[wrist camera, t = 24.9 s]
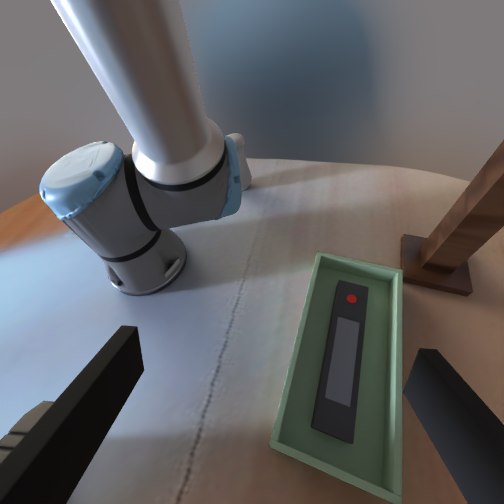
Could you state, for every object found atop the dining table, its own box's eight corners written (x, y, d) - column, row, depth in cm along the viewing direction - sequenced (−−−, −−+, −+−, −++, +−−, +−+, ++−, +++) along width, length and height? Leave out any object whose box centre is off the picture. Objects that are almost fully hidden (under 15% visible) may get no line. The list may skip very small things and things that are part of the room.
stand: (469, 307, 39) (780, 104, 15) (400, 290, 41) (567, 96, 17) (458, 241, 46) (652, 36, 22) (400, 231, 49) (518, 38, 25)
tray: (386, 498, 27) (402, 508, 24) (270, 445, 31) (268, 446, 27) (392, 282, 42) (402, 269, 39) (314, 264, 46) (317, 251, 43)
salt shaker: (227, 182, 63) (217, 133, 53) (248, 176, 64) (242, 127, 54) (233, 195, 60) (223, 146, 50) (255, 189, 61) (250, 139, 50)
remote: (348, 443, 29) (353, 444, 27) (310, 427, 31) (312, 427, 28) (364, 294, 41) (369, 286, 38) (336, 287, 42) (339, 278, 40)
